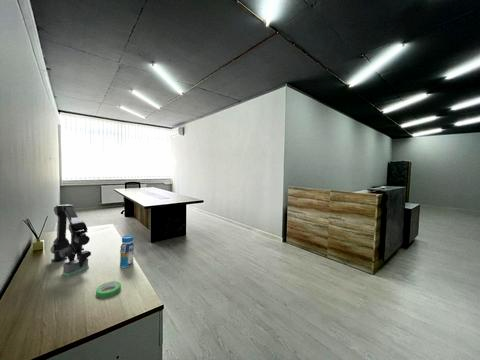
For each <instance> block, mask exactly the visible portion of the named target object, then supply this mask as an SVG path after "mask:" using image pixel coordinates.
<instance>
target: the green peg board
mask: <svg viewBox="0 0 480 360" xmlns="http://www.w3.org/2000/svg"><path fill="white" fill-rule="evenodd" d="M89 268H90V266H89V264H88V266H86V267H84V268H81V269H79V270H76V271H74V272H71V273H69V274H68V273H66V272H63V271H62V274H61V275H63V276H65V277H69V276H72V275H75V274H77V273H80V272H82V271H84V270H87V269H89Z"/></svg>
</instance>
